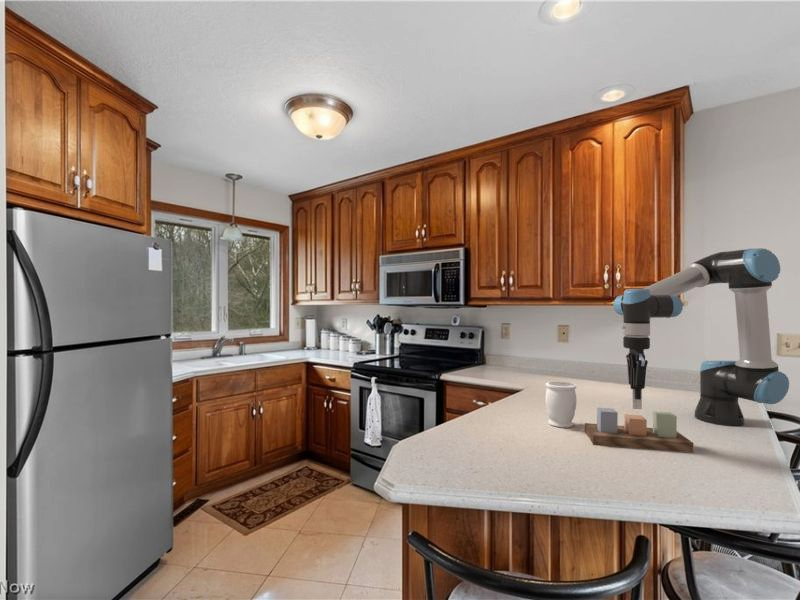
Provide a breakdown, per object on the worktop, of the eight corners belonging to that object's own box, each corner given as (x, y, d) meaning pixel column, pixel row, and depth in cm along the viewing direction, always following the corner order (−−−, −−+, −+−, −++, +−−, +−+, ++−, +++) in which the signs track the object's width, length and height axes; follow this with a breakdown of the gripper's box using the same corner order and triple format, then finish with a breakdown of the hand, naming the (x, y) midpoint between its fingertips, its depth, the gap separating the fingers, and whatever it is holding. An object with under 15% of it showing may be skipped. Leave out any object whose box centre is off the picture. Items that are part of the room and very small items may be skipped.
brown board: (674, 438, 137) (674, 429, 137) (693, 452, 125) (693, 442, 125) (584, 431, 144) (584, 423, 144) (593, 444, 131) (593, 435, 131)
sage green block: (669, 435, 134) (670, 412, 134) (676, 440, 129) (676, 416, 129) (652, 433, 135) (653, 411, 135) (658, 438, 130) (658, 415, 130)
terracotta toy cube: (640, 438, 136) (641, 415, 136) (646, 443, 131) (646, 419, 131) (624, 436, 137) (624, 414, 137) (629, 441, 132) (629, 418, 132)
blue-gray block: (612, 430, 138) (613, 408, 138) (617, 435, 133) (617, 412, 133) (596, 429, 139) (597, 407, 139) (600, 434, 134) (600, 411, 134)
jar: (543, 426, 149) (543, 384, 149) (547, 418, 159) (547, 380, 158) (574, 430, 144) (575, 388, 144) (577, 423, 154) (577, 383, 154)
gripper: (617, 334, 141) (617, 402, 141) (630, 338, 128) (630, 413, 129) (642, 334, 140) (642, 404, 140) (657, 338, 127) (656, 414, 127)
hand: (636, 408), depth 134 cm, fingers closed
